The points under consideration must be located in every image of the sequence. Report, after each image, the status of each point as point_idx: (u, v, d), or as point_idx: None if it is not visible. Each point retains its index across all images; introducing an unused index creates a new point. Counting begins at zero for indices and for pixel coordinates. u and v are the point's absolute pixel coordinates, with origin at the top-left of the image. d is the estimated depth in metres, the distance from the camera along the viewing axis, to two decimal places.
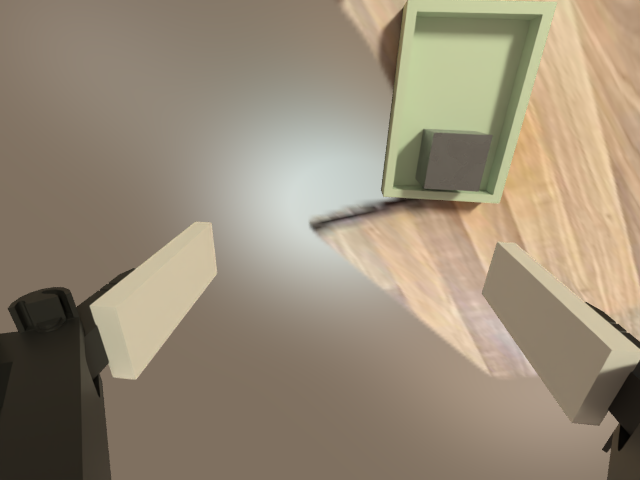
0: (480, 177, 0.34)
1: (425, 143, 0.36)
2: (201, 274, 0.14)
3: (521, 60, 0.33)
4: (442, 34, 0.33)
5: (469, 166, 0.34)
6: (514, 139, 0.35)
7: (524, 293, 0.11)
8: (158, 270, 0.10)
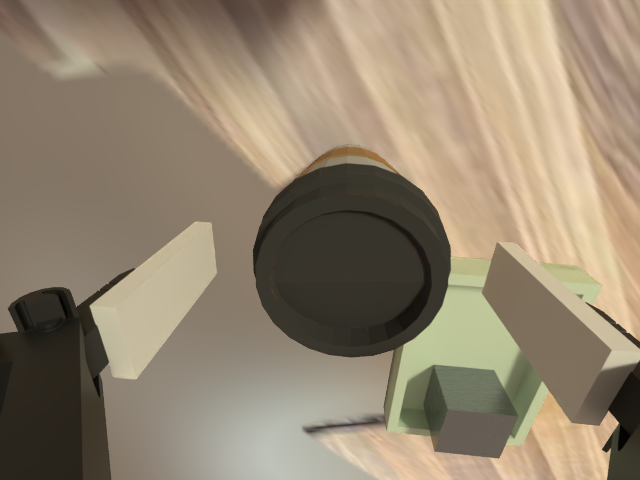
0: (502, 447, 0.29)
1: (436, 393, 0.30)
2: (201, 274, 0.14)
3: None
4: (458, 286, 0.28)
5: (489, 438, 0.28)
6: (542, 396, 0.29)
7: (524, 292, 0.11)
8: (158, 270, 0.10)
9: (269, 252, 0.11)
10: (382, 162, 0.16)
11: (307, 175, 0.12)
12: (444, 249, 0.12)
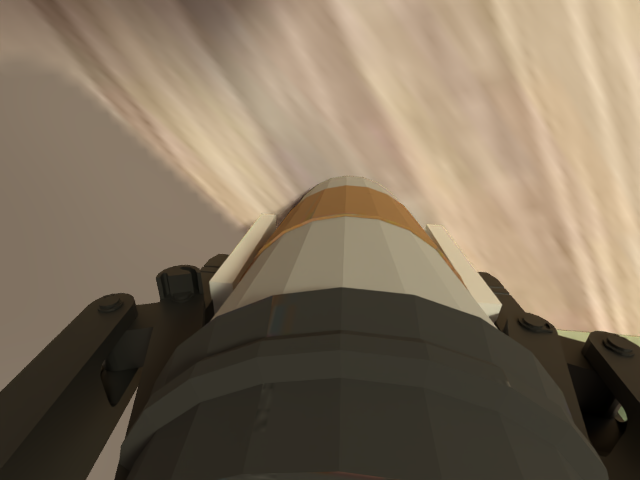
0: None
1: None
2: None
3: None
4: None
5: None
6: None
7: None
8: (251, 254, 0.12)
9: None
10: (409, 229, 0.09)
11: (243, 314, 0.05)
12: None
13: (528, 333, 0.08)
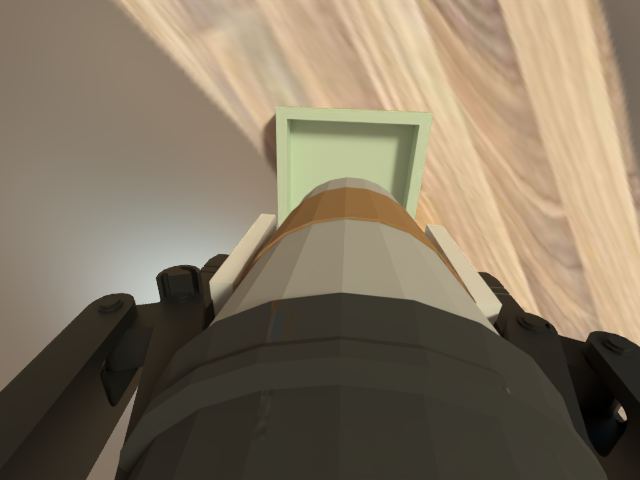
0: None
1: None
2: None
3: (409, 163, 0.31)
4: (324, 135, 0.31)
5: None
6: None
7: None
8: (251, 254, 0.12)
9: None
10: (408, 232, 0.09)
11: (242, 319, 0.05)
12: None
13: (528, 333, 0.08)
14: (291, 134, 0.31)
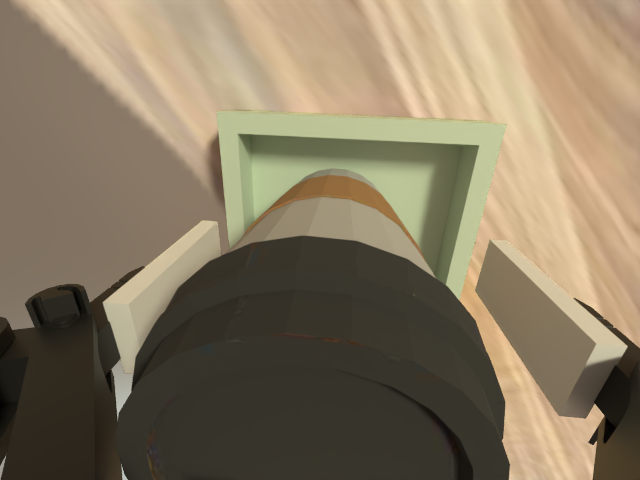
0: None
1: None
2: None
3: (451, 206, 0.18)
4: (307, 159, 0.18)
5: None
6: None
7: (515, 289, 0.12)
8: (168, 268, 0.11)
9: (138, 427, 0.06)
10: (375, 208, 0.10)
11: (229, 257, 0.06)
12: (494, 408, 0.06)
13: None
14: (252, 157, 0.18)
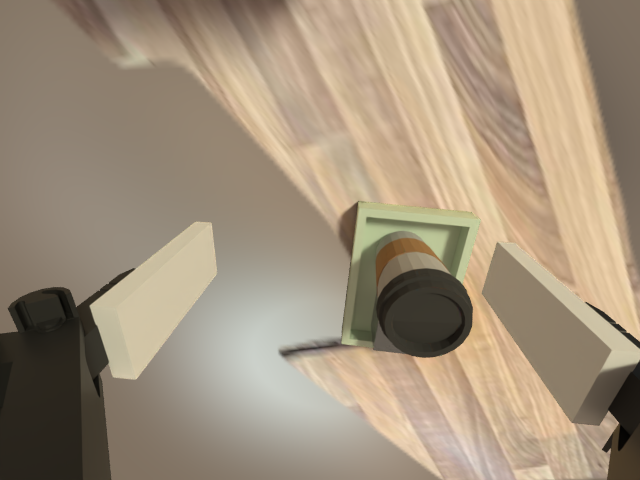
0: None
1: None
2: (201, 274, 0.14)
3: (456, 249, 0.39)
4: (390, 225, 0.39)
5: None
6: None
7: (524, 293, 0.11)
8: (158, 270, 0.10)
9: (394, 308, 0.26)
10: (434, 256, 0.31)
11: (408, 272, 0.27)
12: (470, 309, 0.27)
13: None
14: None
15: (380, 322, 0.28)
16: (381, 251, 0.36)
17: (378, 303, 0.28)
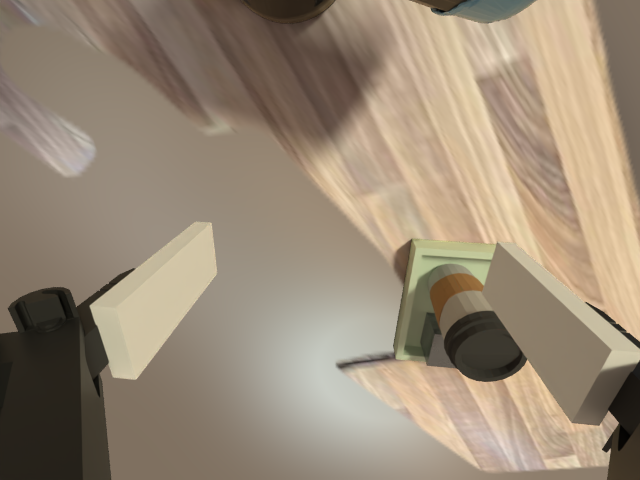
0: None
1: (428, 329, 0.47)
2: (201, 274, 0.14)
3: None
4: (440, 258, 0.45)
5: None
6: None
7: (524, 293, 0.11)
8: (158, 270, 0.10)
9: (464, 345, 0.32)
10: None
11: (473, 314, 0.33)
12: None
13: None
14: None
15: (449, 354, 0.34)
16: (437, 285, 0.42)
17: (446, 338, 0.34)
